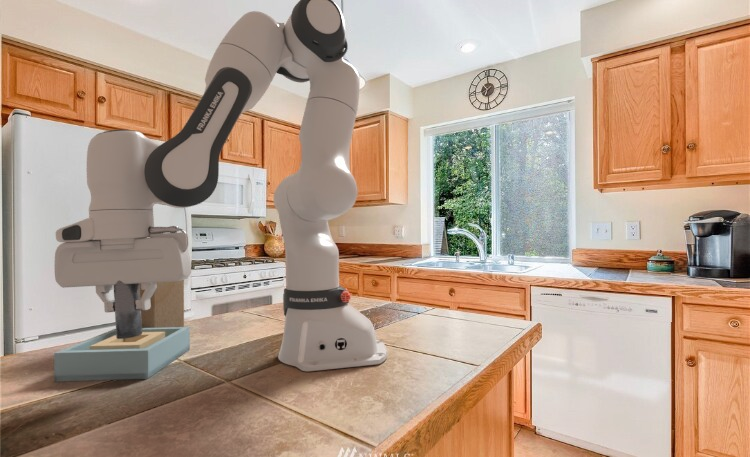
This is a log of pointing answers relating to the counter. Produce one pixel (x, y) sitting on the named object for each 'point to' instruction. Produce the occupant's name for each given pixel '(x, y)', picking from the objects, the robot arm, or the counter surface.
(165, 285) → the wooden block
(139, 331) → the peg
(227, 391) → the counter surface
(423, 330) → the counter surface
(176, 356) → the bin
